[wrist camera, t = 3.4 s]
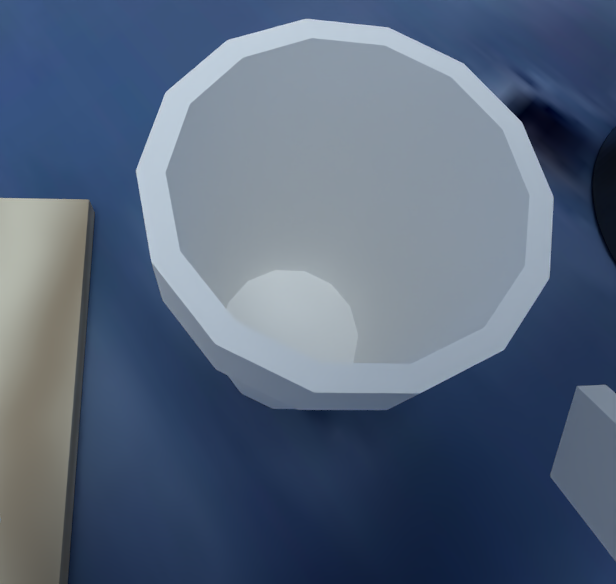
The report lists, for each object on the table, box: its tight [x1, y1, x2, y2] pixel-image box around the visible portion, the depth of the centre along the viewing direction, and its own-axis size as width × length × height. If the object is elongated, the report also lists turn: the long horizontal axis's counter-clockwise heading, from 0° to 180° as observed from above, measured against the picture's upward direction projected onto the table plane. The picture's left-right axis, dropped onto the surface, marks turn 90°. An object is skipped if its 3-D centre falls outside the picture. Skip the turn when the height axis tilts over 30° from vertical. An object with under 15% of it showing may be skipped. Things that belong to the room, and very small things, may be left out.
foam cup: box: [136, 19, 554, 410], centre depth 18 cm, size 10×9×13 cm
